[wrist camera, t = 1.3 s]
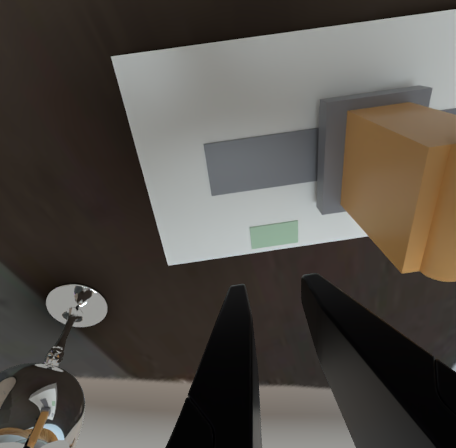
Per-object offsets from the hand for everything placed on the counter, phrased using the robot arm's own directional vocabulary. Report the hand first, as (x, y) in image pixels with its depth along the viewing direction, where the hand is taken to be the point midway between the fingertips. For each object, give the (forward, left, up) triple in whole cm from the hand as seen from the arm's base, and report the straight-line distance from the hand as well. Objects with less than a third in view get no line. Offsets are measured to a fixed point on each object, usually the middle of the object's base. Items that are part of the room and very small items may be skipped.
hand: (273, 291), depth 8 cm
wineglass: (+13, +10, -12) cm, 20 cm away
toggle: (-7, 0, -10) cm, 12 cm away
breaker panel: (-6, 0, -12) cm, 13 cm away
